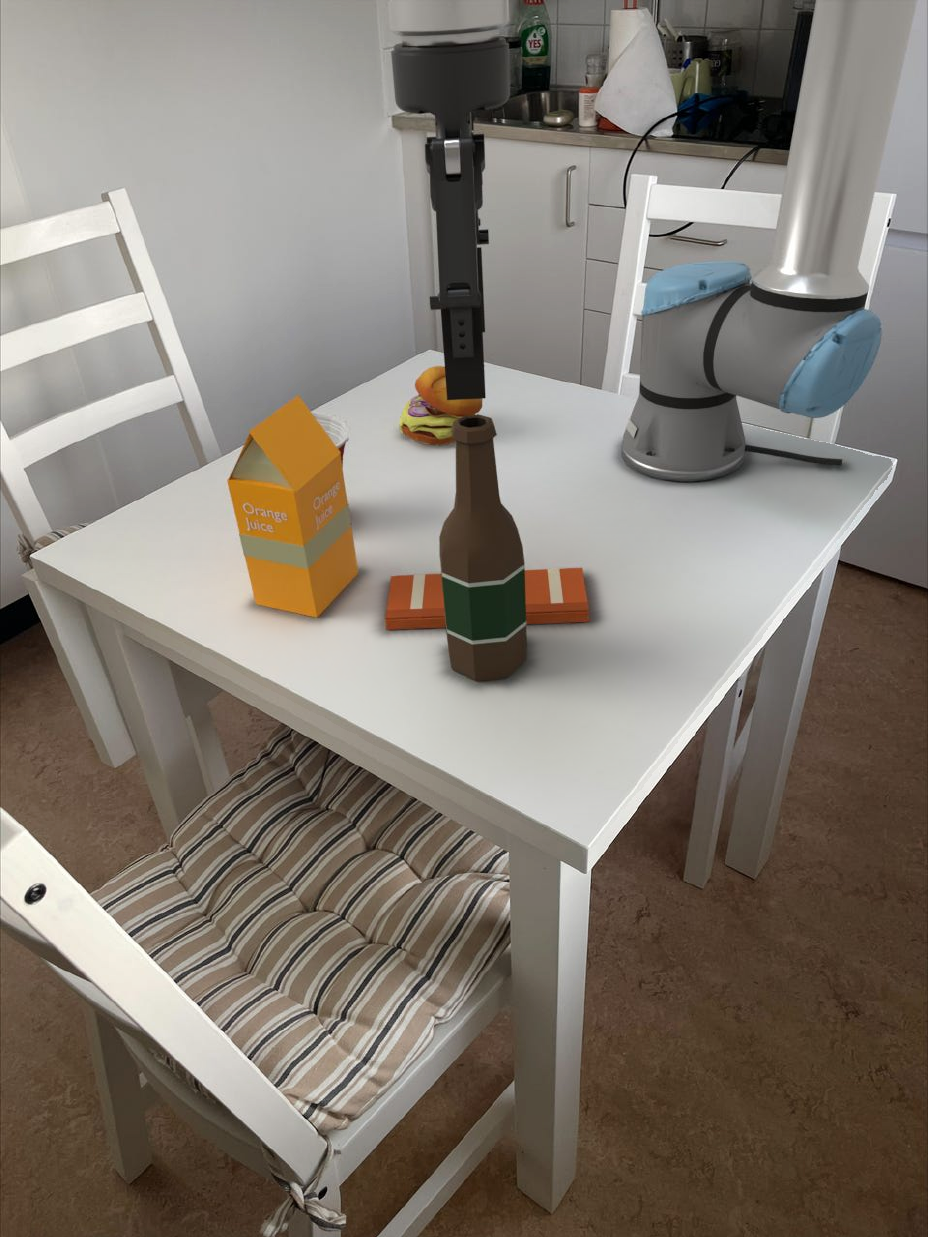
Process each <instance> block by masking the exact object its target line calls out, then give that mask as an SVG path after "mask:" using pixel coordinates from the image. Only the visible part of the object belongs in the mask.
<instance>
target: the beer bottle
mask: <svg viewBox="0 0 928 1237" xmlns="http://www.w3.org/2000/svg"><path fill="white" fill-rule="evenodd" d="M451 433H452V438H453V440H455V496H454V505H453V507H452V510H451V511H450V513H449V514H448V515H447V516H446V519H445V520H444V521H443V523H442V527H441V530H440V534H439V536H438V538H439V539H438V540H439V541H438V542H439V544H438V545H439V547H438V548H439V551H438V552H439V554H438V555H439V564H440V565H439V566H440V574H441V577H442V588H443V599H444V610H445V621H446V627H445V631H446V641H447V648H448V656H449V662H450V668H451V670H452V671H454V672H456V673H458V674H460V675H462V676H464V677H466V678H468V679H470V680H473V681H474V682H483V681H484V682H485V681H493V680H494V681H495V680H503V679H507V678H508V677H510V676H511V675H512V674H513V673H514V672H516V671H517V670H518V669H519V668H520V667H522V666H523V665H524V664H525V663H526V661H527V649H528V640H527V638H528V637H527V636H528V635H527V624H526V598H525V570H526V569H525V568H526V565H525V556H524V549H523V548H524V547H523V543H522V538H521V536H520V532H519V531H520V530H519V528H518V526H517V524H516V521H515V519H514V517H513V515H512V513H511V512H510V511H509V510H508V509H507V508H506V507H505V505H503V503H502V501H501V496H500V489H499V479H498V471H497V470H498V469H497V462H496V452H495V443H494V438H495V437H496V436H497V435H498V433H497V430H496V426H495V423H494V421H493V418H492V417H490V416H487V415H483V414H479V413H476V414H475V415H466V416H463V417H461V418H459V419H457V420H455V421H454V422H453V426H452V430H451Z"/></svg>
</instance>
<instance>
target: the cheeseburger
mask: <svg viewBox="0 0 928 1237" xmlns="http://www.w3.org/2000/svg"><path fill="white" fill-rule="evenodd" d="M414 388H415V391H416V392H417V395H415V396H413V397H412V398H411V399H410V400H408V401H407V402H406V403H405V405H404V407H403V410H402V412H401V414H400V420H399V422H398V428H399V430H400V432H401V434H402V435H403V436H404V435H405V436H406V437H408V438H409V439H411V440H413V441H417V442H419V443H423V444H426V445H431V446H444V445H448V444H451V443H456V441H455V440H453V438H452V433H451V430H452V426H453V422H454V421H455V420H457V419H459V418H461V417H463V416H466V415H477V414H479V412H481V410H482V408H483V399H462V400H447V392H446V378H445V365H444V366H443V365H435V366H431V367H428V368H427V369H425V370H424V371H423V372H422V373H421V374H420V375H419V377H418V378H417V379H415V382H414Z"/></svg>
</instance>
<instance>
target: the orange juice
mask: <svg viewBox="0 0 928 1237" xmlns="http://www.w3.org/2000/svg"><path fill="white" fill-rule="evenodd" d="M311 412H312V411H311V410H310V409H309V407H308V406H307V405H306V403H305V402H304V401H303V399H302V397H300V395H297V396H295V397H294V398H292V399H291V400H290V401H288V402H287V403H285V404H284V405H283V406H281V407H280V408H279V409H277V410H276V411H274V412H273V413H272V414H270V415H269V416H268V417H266V418H265V419H264V420H262V421H261V422H260V423H258V424H257V425H256V426H254V427H252V428H251V429H250V430H248V433H249V434H248V435H247V438H246V440H245V443H244V444H243V447H242V449H241V452H240V454H239V455H238V458H237V460H236V462H235V464H234V466H233V468H232V471H231V473H230V475H229V477H228V479H226V483H227V486H228V490H229V494H230V499H231V504H232V508H233V512H234V516H235V520H236V525H237V530H238V536H239V540H240V545H241V548H242V553H243V556H244V560H245V563H246V567H247V572H248V576H249V580H250V585H251V589H252V593H253V594H252V595H253V598H254V603H255V605H258V606H262V607H266V608H272V609H275V610H280V611H284V612H288V613H289V612H290V613H294V614H297V615H298V614H299V615H303V616H307V617H312V618H319V617H320V616H321V615H322V613H323V612H324V611H325V610H326V609H327V608H328V607H329V606H330V605H331V604H332V603H333V602H334V600H335V599H336V598H337V597H338V596H339V595H340V594H341V593H342V592H343V591H344V589H346V588H347V586H348V585H350V583H351V582H352V581H353V580H354V579H355V578H356V577H357V575H358V574H359V568H358V567H359V566H358V561H357V554H356V549H355V542H354V535H353V528H352V518H351V512H350V506H349V503H348V502H349V501H348V496H347V495H348V494H347V489H346V482H345V476H344V469H343V468H344V467H343V468H342V462H341V455H340V453H341V452H340V451H339V449H338V448H337V447H336V445H335V444H334V443H333V441H332V440H331V439H330V437H329V436H328V435H327V433H326V432H325V431H324V429H323V428H322V426H321V425H320V424H319V422H318V421H317V420H316V418H315V417H314V416H313V414H312V413H311Z"/></svg>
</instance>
